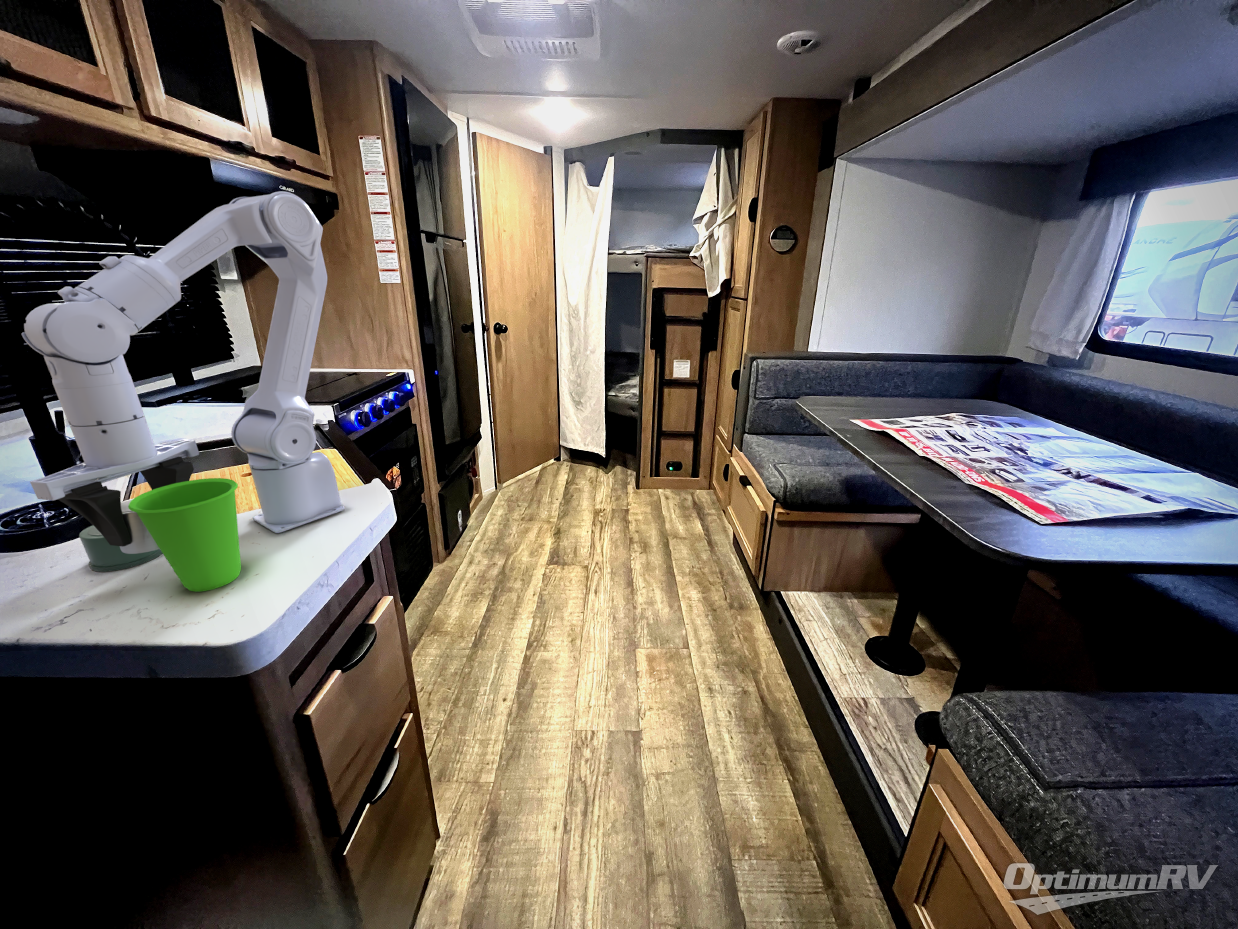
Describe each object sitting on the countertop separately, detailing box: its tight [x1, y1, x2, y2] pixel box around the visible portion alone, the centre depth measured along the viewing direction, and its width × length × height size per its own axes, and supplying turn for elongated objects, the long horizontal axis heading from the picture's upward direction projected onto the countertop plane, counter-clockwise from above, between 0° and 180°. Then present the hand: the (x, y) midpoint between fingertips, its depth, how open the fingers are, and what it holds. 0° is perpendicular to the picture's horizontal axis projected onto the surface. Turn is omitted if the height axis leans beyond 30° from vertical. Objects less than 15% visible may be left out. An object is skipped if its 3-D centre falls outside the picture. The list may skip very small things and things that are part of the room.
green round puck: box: [78, 524, 163, 573], centre depth 59 cm, size 7×7×4 cm
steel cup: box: [120, 497, 160, 554], centre depth 56 cm, size 5×5×5 cm
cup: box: [128, 477, 242, 593], centre depth 54 cm, size 9×9×11 cm
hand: (149, 531), depth 56 cm, fingers closed on steel cup, 5 cm apart
